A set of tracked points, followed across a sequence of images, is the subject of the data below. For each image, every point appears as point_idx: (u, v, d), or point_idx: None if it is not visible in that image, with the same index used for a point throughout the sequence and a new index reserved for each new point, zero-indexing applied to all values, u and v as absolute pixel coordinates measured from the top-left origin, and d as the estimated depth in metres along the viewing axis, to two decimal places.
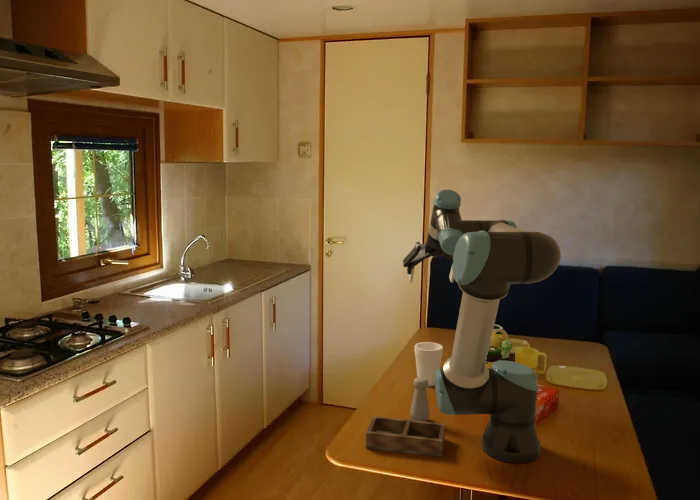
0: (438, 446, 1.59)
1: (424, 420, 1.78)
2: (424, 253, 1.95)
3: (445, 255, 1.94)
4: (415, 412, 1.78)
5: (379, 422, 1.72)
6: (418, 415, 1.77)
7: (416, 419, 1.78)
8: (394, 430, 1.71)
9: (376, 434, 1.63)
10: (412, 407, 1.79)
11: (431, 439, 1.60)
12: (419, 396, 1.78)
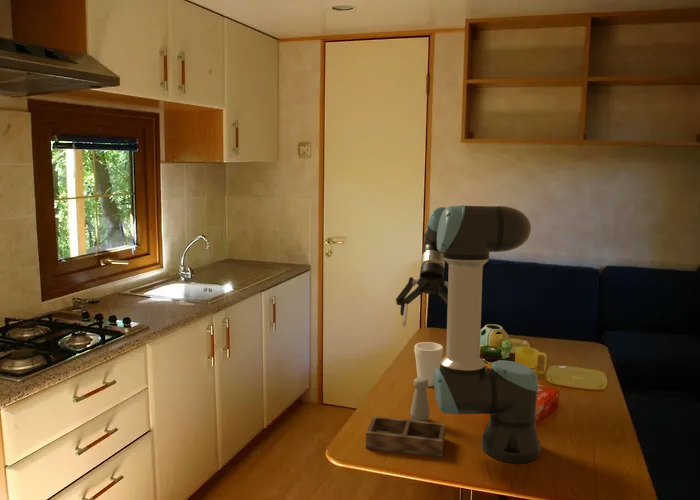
0: (438, 446, 1.59)
1: (424, 420, 1.78)
2: None
3: (438, 286, 1.92)
4: (415, 412, 1.78)
5: (379, 422, 1.72)
6: (418, 415, 1.77)
7: (416, 419, 1.78)
8: (394, 430, 1.71)
9: (376, 434, 1.63)
10: (412, 407, 1.79)
11: (431, 439, 1.60)
12: (419, 396, 1.78)
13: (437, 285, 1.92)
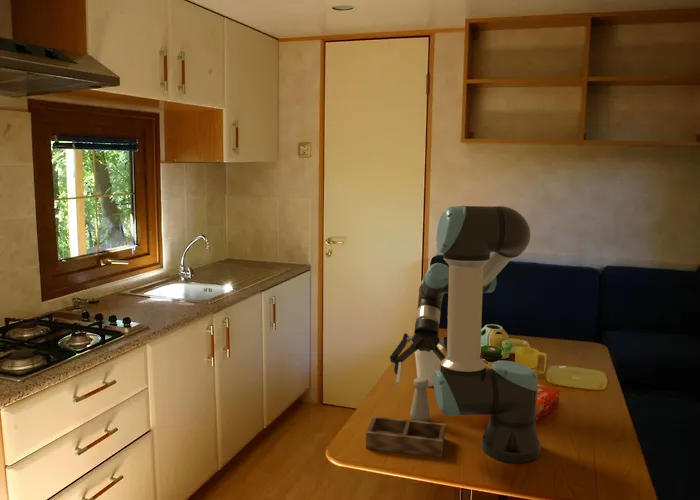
0: (438, 446, 1.59)
1: (424, 420, 1.78)
2: None
3: (433, 344, 1.88)
4: (415, 412, 1.78)
5: (379, 422, 1.72)
6: (418, 415, 1.77)
7: (416, 419, 1.78)
8: (394, 430, 1.71)
9: (376, 434, 1.63)
10: (412, 407, 1.79)
11: (431, 439, 1.60)
12: (419, 396, 1.78)
13: (432, 343, 1.88)
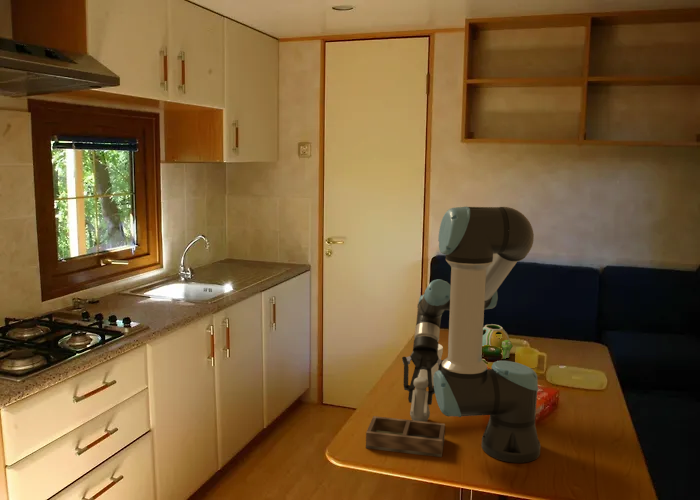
0: (438, 446, 1.59)
1: (424, 420, 1.78)
2: None
3: (428, 363, 1.83)
4: (415, 412, 1.78)
5: (379, 422, 1.72)
6: (418, 415, 1.77)
7: (416, 419, 1.78)
8: (394, 430, 1.71)
9: (376, 434, 1.63)
10: None
11: (431, 439, 1.60)
12: (419, 396, 1.78)
13: (428, 362, 1.83)
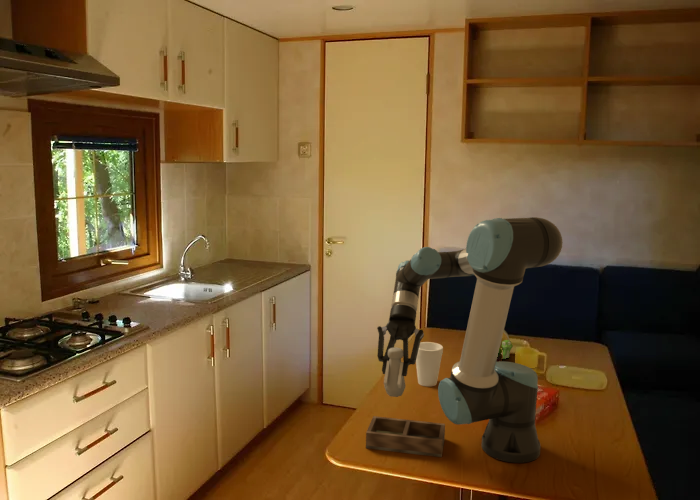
0: (438, 446, 1.59)
1: (399, 393, 1.67)
2: None
3: (404, 333, 1.72)
4: (389, 384, 1.67)
5: (379, 422, 1.72)
6: (392, 387, 1.67)
7: (390, 392, 1.67)
8: (394, 430, 1.71)
9: (376, 434, 1.63)
10: None
11: (431, 439, 1.60)
12: (393, 367, 1.67)
13: (404, 332, 1.72)
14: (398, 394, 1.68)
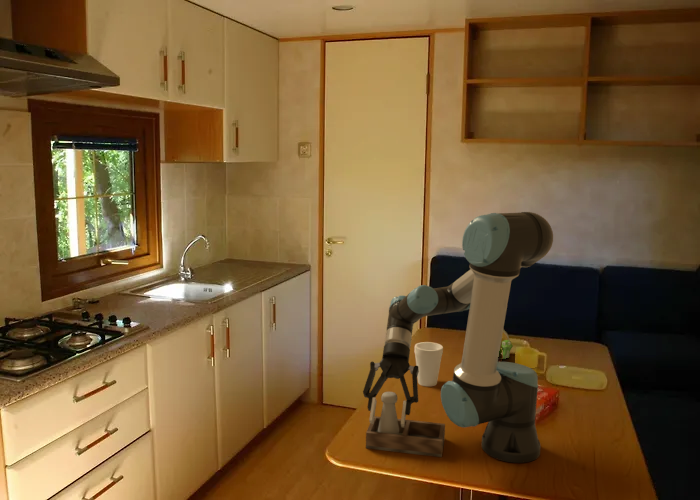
0: (438, 446, 1.59)
1: None
2: None
3: (400, 371, 1.70)
4: (383, 429, 1.64)
5: None
6: (386, 432, 1.64)
7: None
8: None
9: (376, 434, 1.63)
10: (380, 424, 1.66)
11: (431, 439, 1.60)
12: (387, 412, 1.64)
13: (399, 370, 1.70)
14: None
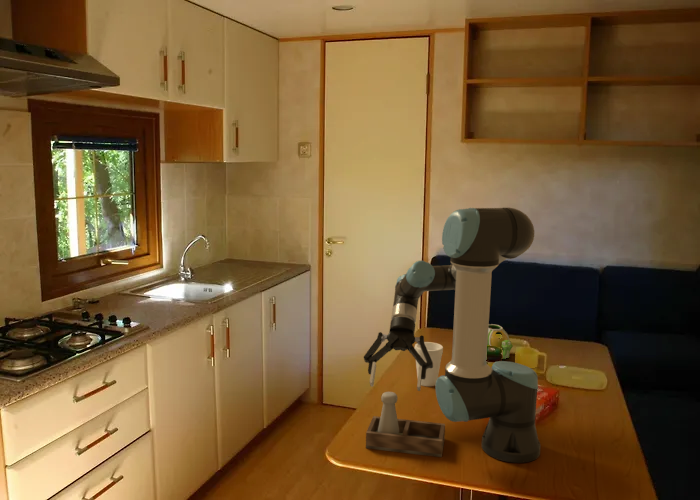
0: (438, 446, 1.59)
1: None
2: None
3: (408, 343, 1.81)
4: (382, 429, 1.64)
5: None
6: None
7: None
8: None
9: (376, 434, 1.63)
10: (380, 424, 1.66)
11: (431, 439, 1.60)
12: (387, 412, 1.64)
13: (407, 342, 1.82)
14: None
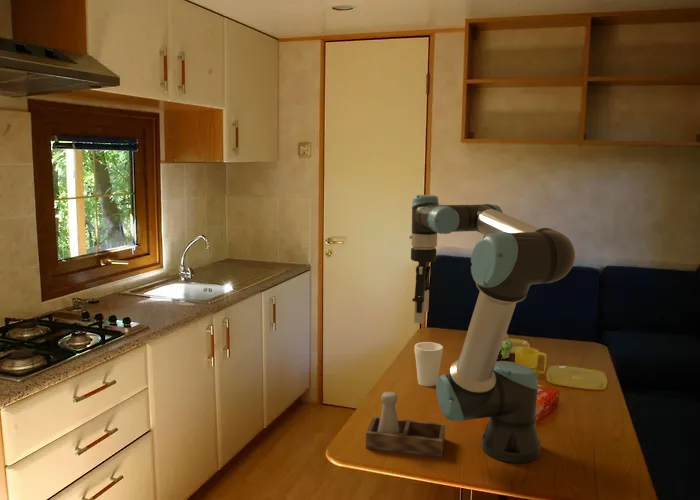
0: (438, 446, 1.59)
1: None
2: None
3: (429, 272, 1.86)
4: (382, 429, 1.64)
5: None
6: None
7: None
8: None
9: (376, 434, 1.63)
10: (380, 424, 1.66)
11: (431, 439, 1.60)
12: (387, 412, 1.64)
13: (429, 271, 1.85)
14: None
